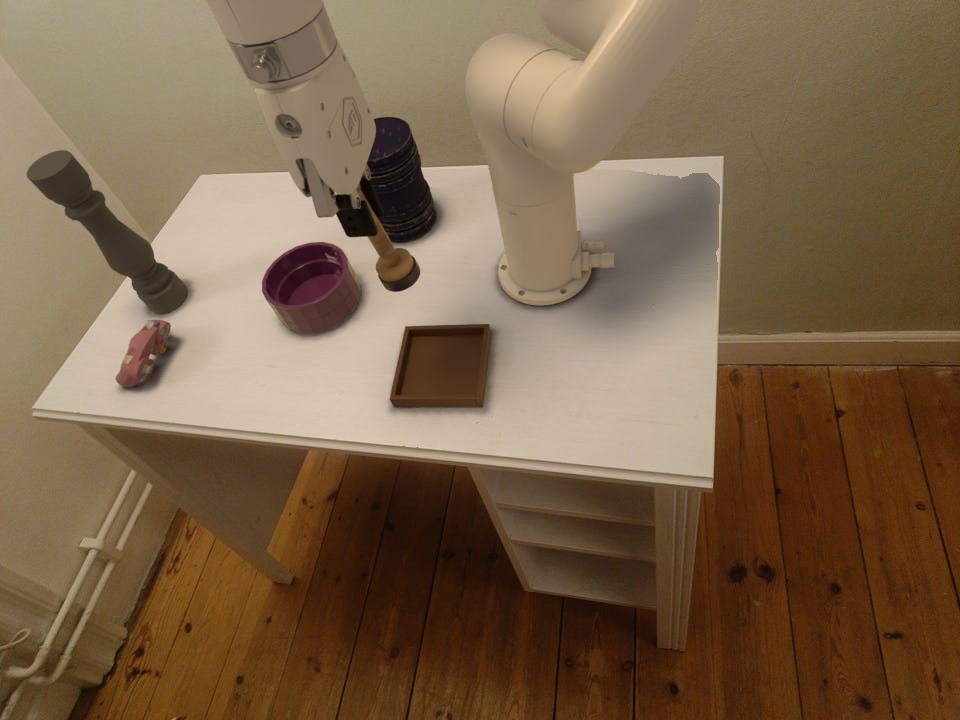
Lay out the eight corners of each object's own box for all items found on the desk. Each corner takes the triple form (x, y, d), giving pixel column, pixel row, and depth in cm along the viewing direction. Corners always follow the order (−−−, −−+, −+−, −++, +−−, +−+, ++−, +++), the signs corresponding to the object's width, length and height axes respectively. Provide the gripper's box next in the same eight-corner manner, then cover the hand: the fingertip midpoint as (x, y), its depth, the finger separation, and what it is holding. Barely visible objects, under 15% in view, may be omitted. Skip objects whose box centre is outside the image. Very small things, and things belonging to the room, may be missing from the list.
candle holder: (196, 288, 95) (83, 152, 75) (170, 317, 92) (46, 185, 72) (167, 280, 97) (51, 146, 77) (141, 308, 94) (14, 177, 74)
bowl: (369, 269, 90) (356, 239, 86) (351, 335, 83) (335, 306, 79) (294, 272, 93) (276, 244, 88) (270, 337, 86) (250, 310, 81)
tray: (491, 333, 79) (489, 323, 78) (483, 407, 73) (480, 399, 71) (409, 335, 82) (405, 326, 80) (394, 407, 75) (389, 399, 74)
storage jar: (441, 197, 97) (416, 112, 85) (433, 241, 91) (405, 157, 79) (381, 202, 99) (349, 120, 87) (370, 245, 93) (334, 164, 81)
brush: (425, 261, 67) (371, 160, 56) (412, 292, 65) (354, 193, 54) (391, 261, 68) (332, 164, 58) (377, 291, 66) (314, 196, 56)
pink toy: (148, 397, 86) (139, 374, 80) (115, 387, 85) (103, 363, 79) (181, 340, 91) (174, 315, 85) (150, 331, 90) (141, 304, 85)
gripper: (300, 99, 41) (385, 284, 56) (356, -15, 50) (416, 170, 64) (201, 110, 42) (309, 286, 57) (272, -3, 51) (350, 175, 66)
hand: (365, 224), depth 61 cm, fingers closed on brush, 2 cm apart
